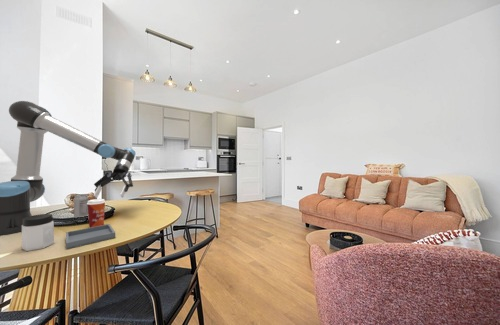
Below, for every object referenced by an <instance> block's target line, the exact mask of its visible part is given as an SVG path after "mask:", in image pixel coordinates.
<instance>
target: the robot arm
mask: <svg viewBox="0 0 500 325" xmlns="http://www.w3.org/2000/svg"><path fill="white" fill-rule="evenodd" d="M8 113H9V115H10V116H11V118H12V119H13V120H15V122H17V123H16V128H17V129H18V130H19V131H20V136H19V146H18V154H17V164H16V170H15V172H16V173H15V175H14V176H12V177H10V181H4V182H0V236H3V235H10V234H15V233H22V225H23V219H24V218H26V217H29V216H33V215H32V212H31V203H32V202H34V201H36V200H38V199H40V198H41V197H42V196H43V195H44V194H45V191H46V187H45V185H44V184H43V183H44V178H43V177H42V176H41V175H40V174H41V173H40V172H41V164H42V157H43V156H42V155H43V147H44V138H45V137H44V136H45V134H46V133H51V134H53V135H55V136H58V137H60V138H62V139H64V140H67V141H68V142H70V143H72V144H75V145H76V146H79V147H81V148H84V149H86V150H89V151H90V152H93V153H95V154H97V155H99V156H100V157H102V158H105V159H109V158H110V159H112V160H116V161H117V162H116V164H115V166H114V168H113V170H112V172H111V173H109V172H106V173H105V174H104V175H103V176H102V177H101V178H100V179H98V180H97V181H96V182H94V184H93V185H94V187H95V189H94V194H93V197H94V198H95V199H98V197H99V195H100V193H101V191H102V189H103V187H105V186H107V185H108V184H109V183H111V182H114V181H117V182H118V181H122V182H123V184H124V185H123V188H122V190H121V192H120V193H119V195H120V196H119V197H121V198H124V197H125V194H126V193H127V192H128V190H129V188H133V187H134V183H133V180H132V176H133V175H132V174H131V172H129V170H130V168H131V166H132V163H133V162H134V160H135V157H136V155H137V154H136V151H135V150H134V149H133V148H131V147H130V148H129V147H126V148H124V149H122V148H118V147H117V146H116V147H115V146H113V145H112V144H111V145H110V144H109V143H107V142H104V141H102V140H100V139H98V138H96V137H93V136H92V135H90V134H88V133H86V132H85V131H81V130H80V129H78V128H76V127H73V126H72V125H70V124H67V123H65V122H63V121H61V120H59V119H57V118H56V117H53V116H52V114H51V112H50V111H48V109H46V108H44V107H42V106H40V105H38V104H36V103H34V102H31V101H28V100H27V101H26V100H19V101H15V102H13V103H12V104H10V106H9V108H8ZM126 177H127V179H128V181H126Z"/></svg>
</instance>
